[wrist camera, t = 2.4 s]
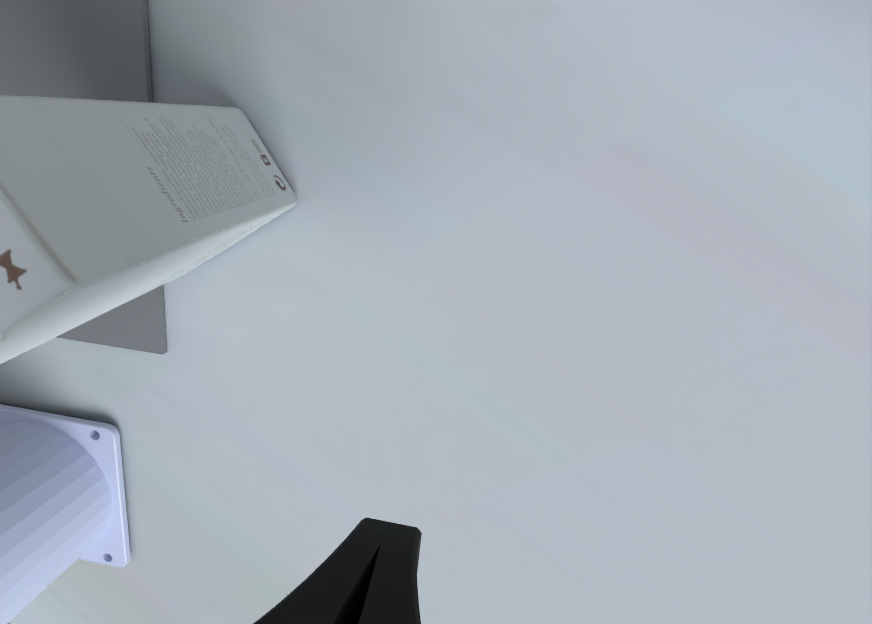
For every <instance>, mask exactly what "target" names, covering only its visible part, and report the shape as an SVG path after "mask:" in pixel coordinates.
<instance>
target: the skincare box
mask: <svg viewBox="0 0 872 624" xmlns="http://www.w3.org/2000/svg"><path fill="white" fill-rule="evenodd" d="M297 202H298V199H297V197H296V195H295V194H294V192H293V191H292V189H291V187H290V186H289V184H288V183H287V181H286V180H285V178H284V177H283V175H282V173H281V171H280V170H279V168H278V167H277V165H276V163H275V162H274V160H273V159H272V157H271V155H270V154H269V152H268V151H267V149H266V147H265V146H264V144H263V143H262V141H261V139H260V138H259V136H258V134H257V133H256V131H255V130H254V129H253V127H252V125H251V124H250V122H249V120H248V119H247V117H246V115H245V114H244V113H243V112H242V111H241V110H240V109H239V108H237V107H222V106H206V105H188V104H167V103H149V102H132V101H113V100H93V99H76V98H59V97H37V96H11V95H0V364H1V363H3V362H5V361H7V360H10V359H12V358H14V357H16V356H18V355H20V354H22V353H24V352H26V351H28V350H30V349H32V348H34V347H36V346H38V345H41V344H43V343H45V342H47V341H49V340H51V339H53V338H55V337H57V336H59V335H61V334H63V333H65V332H67V331H69V330H71V329H73V328H75V327H77V326H79V325H81V324H83V323H85V322H87V321H89V320H91V319H93V318H95V317H97V316H99V315H101V314H103V313H106V312H108V311H110V310H112V309H114V308H116V307H118V306H120V305H122V304H124V303H126V302H128V301H130V300H132V299H134V298H136V297H138V296H140V295H143V294H145V293H147V292H149V291H151V290H153V289H155V288H157V287H159V286H161V285H163V284H165V283H167V282H169V281H171V280H173V279H175V278H178V277H180V276H181V275H183V274H185V273H187V272H189V271H191V270H193V269H194V268H196V267H198V266H199V265H201V264H202V263H204V262H206V261H207V260H209V259H211V258H212V257H214V256H216V255H217V254H219V253H220V252H222V251H224V250H225V249H227V248H228V247H230V246H232V245H233V244H235V243H236V242H238V241H240V240H241V239H243V238H244V237H246V236H248V235H249V234H251V233H252V232H254V231H255V230H257V229H258V228H260V227H262V226H263V225H265V224H266V223H268V222H269V221H271V220H272V219H274V218H276V217H277V216H279V215H280V214H282V213H284V212H285V211H287V210H288V209H290V208H292V207H293V206H294V205H296V204H297Z"/></svg>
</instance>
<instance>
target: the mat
mask: <svg viewBox="0 0 872 624" xmlns="http://www.w3.org/2000/svg"><path fill="white" fill-rule="evenodd" d="M0 95H11V96H37V97H59V98H76V99H93V100H113V101H132V102H149V103H153V98H152V80H151V63H150V46H149V28H148V11H147V0H0ZM57 337H58V338H65V339H71V340H77V341H83V342H89V343H96V344H102V345H108V346H114V347H120V348H127V349H133V350H139V351H145V352H152V353H158V354H164V353H166V352H167V341H166V324H165V306H164V289H163V285H161V286H159V287H157V288H155V289H153V290H151V291H149V292H147V293H145V294H143V295H140V296H138V297H136V298H134V299H132V300H130V301H128V302H126V303H124V304H122V305H120V306H118V307H116V308H114V309H112V310H110V311H108V312H106V313H103V314H101V315H99V316H97V317H95V318H93V319H91V320H89V321H87V322H85V323H83V324H81V325H79V326H77V327H75V328H73V329H71V330H69V331H67V332H65V333H63V334H61V335H59V336H57Z"/></svg>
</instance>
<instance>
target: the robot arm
mask: <svg viewBox="0 0 872 624" xmlns="http://www.w3.org/2000/svg"><path fill="white" fill-rule="evenodd" d="M96 431H97V432H98V433H99V435H98V434H97V432H96ZM421 534H422V533H421V532H420V530H419V529H418V528H416V527H411V526H406V525H401V524H396V523H391V522H386V521H381V520H376V519H371V518H365V519H363V520H361V521H360V523H359V524H358V525H357V526H356V527H355V529H354V530H353V531H352V532H351V533H350V534H349V536H348V537H347V538H346V539H345V540H344V541H343V542H342V543H341V544H340V545H339V547H338V548H337V549H336V550H335V551H334V552H333V553H332V554H331V555H330V556H329V557H328V558H327V559H326V560H325V561H324V562H323V563H322V564H321V565H320V566H319V567H318V568H317V569H316V570H315V571H314V572H313V573H312V574H311V575H310V576H309V577H308V578H307V579H306V580H305V581H303V582H302V583H301V584H300V585H299V586H298V587H297V588H296V589H294V590H293V591H292V592H291V593H290V594H289V595H288V596H287V597H285V598H284V599H283V600H282V601H281V602H280V603H279V604H277V605H276V606H275V607H274V608H273V609H271V610H270V611H269V612H268V613H266V614H265V615H264V616H263V617H261V618H260V619H259V620H257V621H256V622H255V623H253V624H421V621H420V612H419V602H418V589H417V568H418V560H419V551H420V542H421ZM130 557H131V556H130V545H129V534H128V523H127V512H126V501H125V490H124V479H123V468H122V457H121V446H120V435H119V431H118V430H117V428H116V427H114V426H113V425H111V424H107V423H102V422H96V421H91V420H85V419H80V418H74V417H68V416H63V415H57V414H52V413H46V412H41V411H35V410H30V409H24V408H19V407H13V406H7V405H2V404H0V624H8V623H9V622H10V621H11V620H12V619H13V618H14V617H15V616H16V615H17V614H18V613H20V612H21V611H22V610H23V609H24V608H25V607H26V606H27V605H28V604H29V603H30V602H31V601H33V600H34V599H35V598H36V597H37V596H38V595H39V594H40V593H41V592H42V591H43V590H44V589H46V588H47V587H48V586H49V585H50V584H51V583H52V582H53V581H54V580H55V579H56V578H58V577H59V576H60V575H61V574H62V573H63V572H64V571H65V570H66V569H67V568H68V567H69V566H71V565H72V564H73V563H74V562H75V561H76V560H77V559H83V560H87V561H92V562H97V563H101V564H106V565H111V566H115V567H123V566H125V565H126V564H127V563H128V562H129V560H130Z"/></svg>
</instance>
